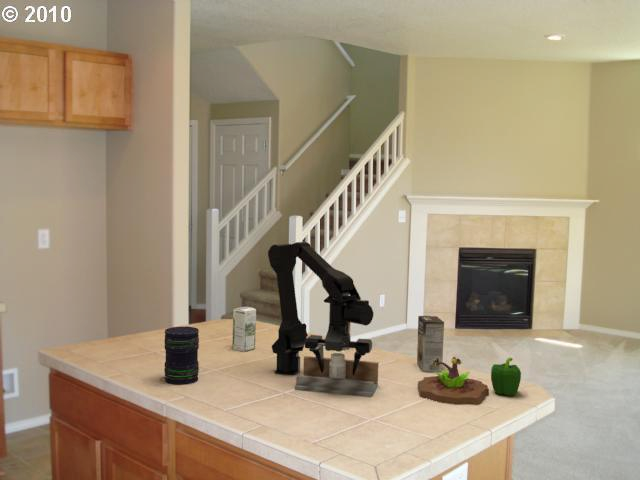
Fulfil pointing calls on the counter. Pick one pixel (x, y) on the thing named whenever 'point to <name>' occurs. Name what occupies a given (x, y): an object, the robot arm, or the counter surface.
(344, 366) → the pill bottle
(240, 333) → the syrup box
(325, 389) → the cleat board
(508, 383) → the bell pepper
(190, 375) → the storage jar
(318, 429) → the counter surface
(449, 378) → the plant
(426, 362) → the coffee box
